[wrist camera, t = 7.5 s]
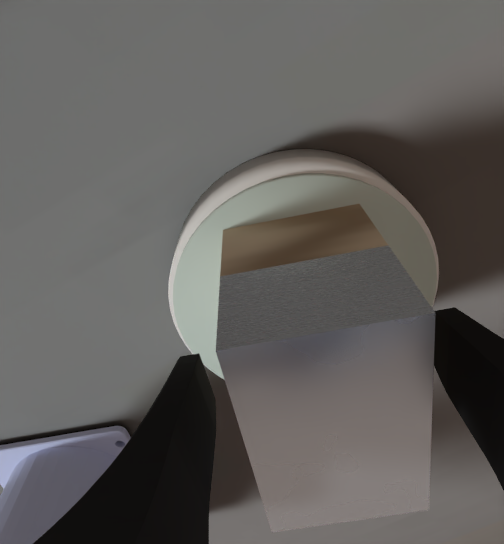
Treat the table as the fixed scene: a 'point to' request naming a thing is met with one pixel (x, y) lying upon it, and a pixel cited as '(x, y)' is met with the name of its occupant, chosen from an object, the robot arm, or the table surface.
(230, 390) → the block
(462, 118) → the table surface
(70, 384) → the table surface
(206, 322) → the stand
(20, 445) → the robot arm
